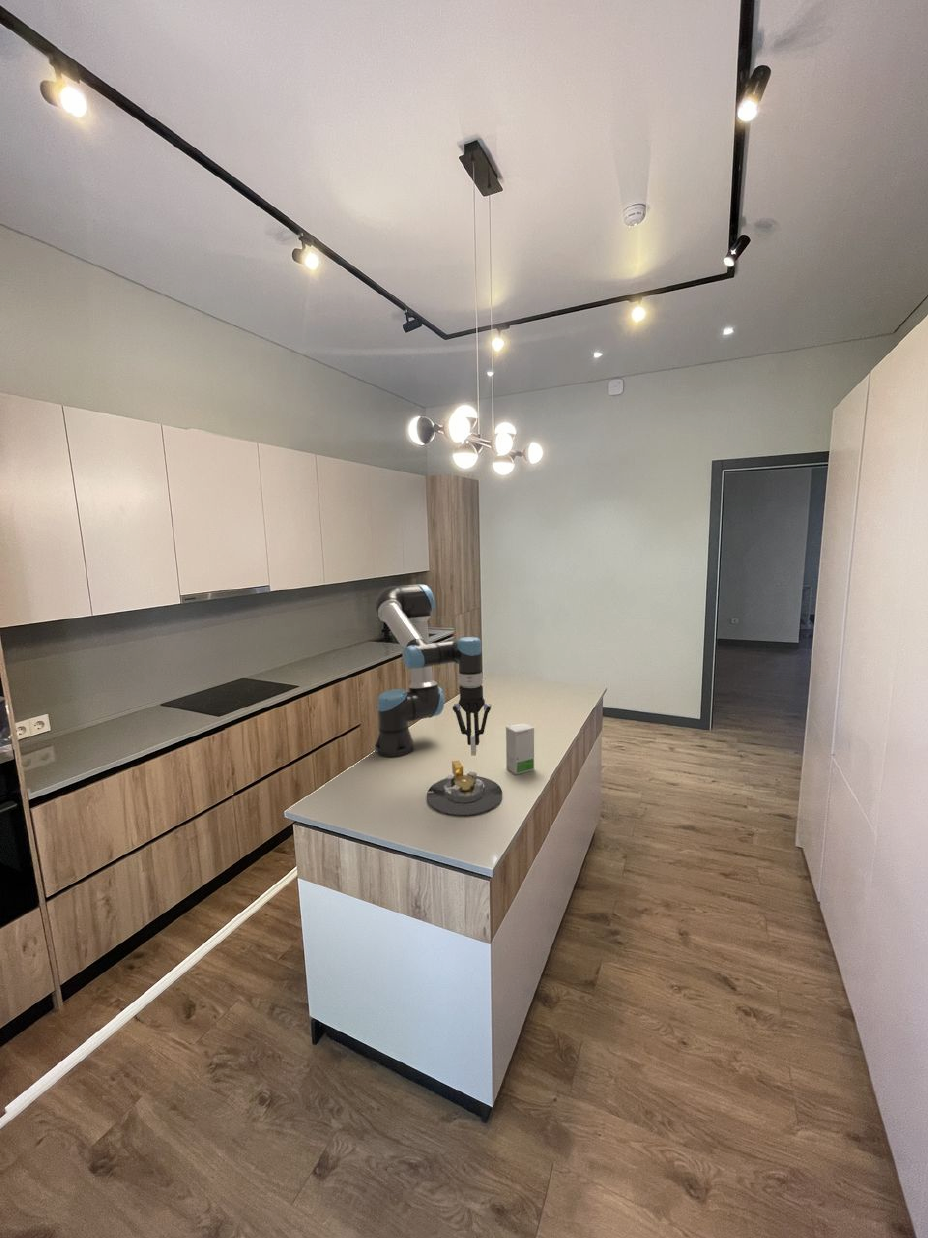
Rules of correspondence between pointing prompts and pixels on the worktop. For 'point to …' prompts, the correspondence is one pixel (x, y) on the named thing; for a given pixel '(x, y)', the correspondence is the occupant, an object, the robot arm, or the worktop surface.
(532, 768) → the skincare box
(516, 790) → the worktop surface
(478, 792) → the ring nut
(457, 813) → the bowl
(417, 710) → the robot arm
